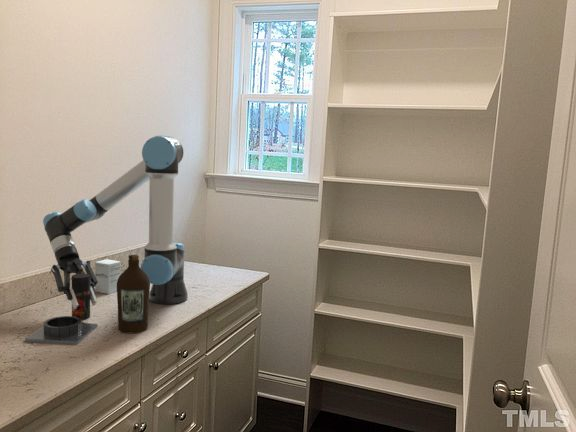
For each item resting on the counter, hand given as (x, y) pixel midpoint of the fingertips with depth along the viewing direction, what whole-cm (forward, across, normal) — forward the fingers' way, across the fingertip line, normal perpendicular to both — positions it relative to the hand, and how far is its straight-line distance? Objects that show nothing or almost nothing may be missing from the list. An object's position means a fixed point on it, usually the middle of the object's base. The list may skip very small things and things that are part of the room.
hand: (85, 305), depth 176 cm
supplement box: (-16, -22, -24) cm, 36 cm away
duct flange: (+9, +11, +2) cm, 15 cm away
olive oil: (+16, -8, +8) cm, 20 cm away
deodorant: (+1, 0, -6) cm, 7 cm away
